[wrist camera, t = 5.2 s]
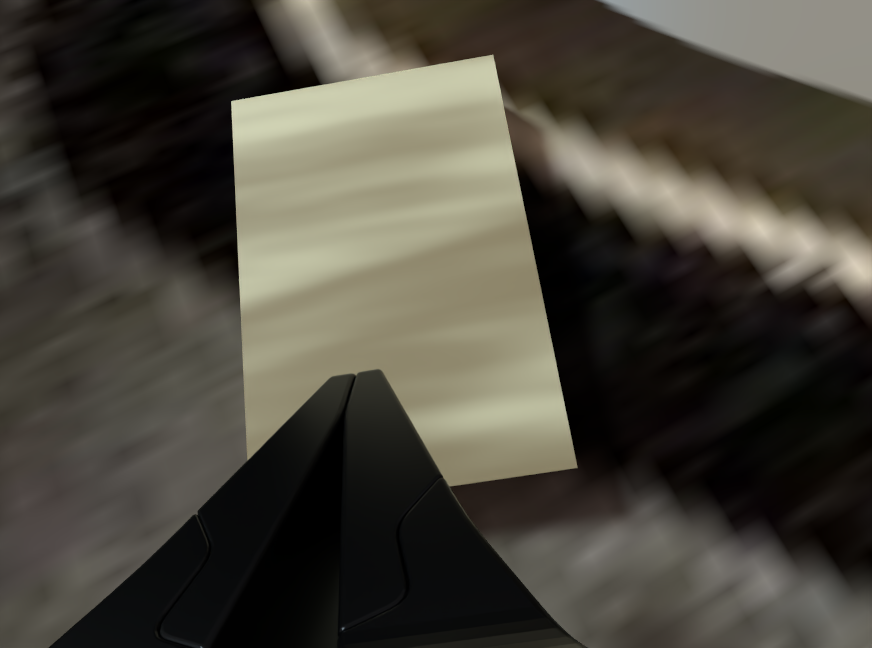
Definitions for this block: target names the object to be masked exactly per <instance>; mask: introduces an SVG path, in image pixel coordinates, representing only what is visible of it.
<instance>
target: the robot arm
mask: <svg viewBox="0 0 872 648" xmlns="http://www.w3.org/2000/svg"><path fill="white" fill-rule="evenodd" d="M49 648H587V647H586V646H584V645H582V644H581V643H580V642H578V641H577V640H575V639H574V638H573V637H572V636H570V635H569V634H568V633H567V632H566V631H565V630H564V629H563V628H562V627H561V626H560V625H559V624H558V623H557V622H556V621H555V620H554V619H553V618H552V617H551V616H550V615H549V614H548V613H547V611H546V610H545V609H544V608H543V607H542V606H541V605H540V603H539V602H538V601H537V600H536V599H535V597H534V596H533V595H532V594H531V593H530V592H529V590H528V589H527V588H526V587H525V586H524V584H523V583H522V582H521V581H520V580H519V579H518V577H517V576H516V575H515V574H514V573H513V571H512V570H511V569H510V568H509V567H508V566H507V564H506V563H505V562H504V561H503V560H502V558H501V557H500V556H499V555H498V554H497V552H496V551H495V550H494V549H493V548H492V547H491V545H490V544H489V543H488V542H487V540H486V539H485V538H484V537H483V535H482V534H481V533H480V531H479V530H478V529H477V528H476V526H475V525H474V524H473V522H472V521H471V520H470V518H469V517H468V516H467V514H466V512H465V511H464V509H463V508H462V506H461V505H460V503H459V502H458V500H457V498H456V497H455V495H454V494H453V492H452V490H451V489H450V487H449V485H448V483H447V482H446V480H445V479H444V478H443V475H442V474H441V472H440V470H439V468H438V467H437V465H436V463H435V461H434V460H433V458H432V456H431V455H430V453H429V451H428V449H427V448H426V446H425V444H424V442H423V441H422V439H421V437H420V435H419V434H418V432H417V430H416V429H415V427H414V425H413V423H412V422H411V420H410V418H409V416H408V415H407V413H406V411H405V410H404V408H403V406H402V404H401V403H400V401H399V399H398V397H397V396H396V394H395V392H394V390H393V389H392V387H391V385H390V384H389V382H388V380H387V378H386V377H385V375H384V373H383V371H382V370H380V369H374V370H368V371H362V372H358V373H357V375H355V374H354V373H349V374H343V375H336V376H332V377H330V378H329V379H328V380H327V381H326V382H325V383H324V384H323V385H322V386H321V387H320V388H319V389H318V390H317V391H316V392H315V393H314V394H313V395H312V396H311V397H310V398H309V399H308V400H307V401H306V402H305V403H304V404H303V405H302V406H301V407H300V408H299V409H298V410H297V411H296V412H295V413H294V414H293V415H292V416H291V417H290V418H289V419H288V420H287V421H286V422H285V423H284V424H283V425H282V426H281V427H280V428H279V429H278V430H277V431H276V432H275V433H274V434H273V435H272V436H271V437H270V438H269V439H268V440H267V441H266V442H265V443H264V444H263V445H262V446H261V448H260V449H259V450H258V451H257V452H256V453H255V454H254V455H253V456H252V457H251V458H250V459H249V460H248V461H247V462H246V463H245V464H244V465H243V466H242V467H241V468H240V469H239V470H238V471H237V472H236V473H235V474H234V475H233V476H232V477H231V478H230V479H229V480H228V481H227V482H226V483H225V484H224V485H223V486H222V487H221V488H220V489H219V490H218V491H217V492H216V493H215V494H214V495H213V496H212V497H211V498H210V499H209V500H208V501H207V502H206V503H205V504H204V505H203V506H202V507H201V508H200V509H199V510H198V515H196V514H195V515H193V516H192V517H191V518H190V519H189V520H188V521H187V522H186V523H185V524H184V525H183V526H182V527H181V528H180V529H179V530H178V531H177V532H176V533H175V534H174V535H173V536H172V537H171V538H170V539H169V540H168V541H167V542H166V543H165V544H164V545H163V546H162V547H161V548H159V549H158V550H157V551H156V552H155V553H154V554H153V555H152V556H151V557H150V558H149V559H148V560H147V561H146V562H145V563H144V564H143V565H142V566H141V567H139V568H138V569H137V570H136V571H135V572H134V573H133V574H132V575H131V576H130V577H128V578H127V579H126V580H125V581H124V582H123V583H122V584H121V585H120V586H118V587H117V588H116V589H115V590H114V591H113V592H112V593H111V594H110V595H108V596H107V597H106V598H105V599H104V600H103V601H102V602H100V603H99V604H98V605H97V606H96V607H95V608H94V609H92V610H91V611H90V612H89V613H88V614H87V615H86V616H84V617H83V618H82V619H81V620H80V621H79V622H77V623H76V624H75V625H74V626H73V627H72V628H71V629H69V630H68V631H67V632H66V633H65V634H64V635H63V636H61V637H60V638H59V639H58V640H57V641H56V642H55V643H53V644H52V645H51V646H50V647H49Z"/></svg>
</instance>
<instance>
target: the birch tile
mask: <svg viewBox="0 0 872 648" xmlns="http://www.w3.org/2000/svg"><path fill="white" fill-rule="evenodd" d="M231 104H232V126H233V149H234V171H235V193H236V216H237V238H238V260H239V283H240V305H241V327H242V350H243V372H244V394H245V417H246V439H247V461H248V460H249V459H250V458H251V457H252V456H253V455H254V454H255V453H256V452H257V451H258V450H259V449H260V448H261V446H262V445H263V444H264V443H265V442H266V441H267V440H268V439H269V438H270V437H271V436H272V435H273V434H274V433H275V432H276V431H277V430H278V429H279V428H280V427H281V426H282V425H283V424H284V423H285V422H286V421H287V420H288V419H289V418H290V417H291V416H292V415H293V414H294V413H295V412H296V411H297V410H298V409H299V408H300V407H301V406H302V405H303V404H304V403H305V402H306V401H307V400H308V399H309V398H310V397H311V396H312V395H313V394H314V393H315V392H316V391H317V390H318V389H319V388H320V387H321V386H322V385H323V384H324V383H325V382H326V381H327V380H328V379H329V378H330V377H332V376H336V375H343V374H349V373H354V374H355V375H357V373H358V372H362V371H368V370H374V369H380V370H382V371H383V373H384V375H385V377H386V378H387V380H388V382H389V384H390V385H391V387H392V389H393V390H394V392H395V394H396V396H397V397H398V399H399V401H400V403H401V404H402V406H403V408H404V410H405V411H406V413H407V415H408V416H409V418H410V420H411V422H412V423H413V425H414V427H415V429H416V430H417V432H418V434H419V435H420V437H421V439H422V441H423V442H424V444H425V446H426V448H427V449H428V451H429V453H430V455H431V456H432V458H433V460H434V461H435V463H436V465H437V467H438V468H439V470H440V472H441V474H442V475H443V478H444V479H445V480H446V482H447V483H448V485H449V487H450V486H457V485H463V484H470V483H477V482H484V481H491V480H498V479H505V478H511V477H518V476H525V475H532V474H539V473H546V472H552V471H559V470H566V469H573V468H578V467H577V463H576V458H575V453H574V448H573V443H572V438H571V433H570V428H569V423H568V419H567V414H566V409H565V404H564V399H563V394H562V389H561V384H560V380H559V375H558V370H557V365H556V360H555V355H554V350H553V345H552V340H551V336H550V331H549V326H548V321H547V316H546V311H545V306H544V301H543V296H542V292H541V287H540V282H539V277H538V272H537V267H536V262H535V257H534V252H533V248H532V243H531V238H530V233H529V228H528V223H527V218H526V213H525V208H524V204H523V199H522V194H521V189H520V184H519V179H518V174H517V169H516V165H515V160H514V155H513V150H512V145H511V140H510V135H509V130H508V125H507V121H506V116H505V111H504V106H503V101H502V96H501V91H500V86H499V81H498V77H497V72H496V67H495V62H494V57H493V55H490V56H484V57H478V58H473V59H467V60H461V61H456V62H450V63H444V64H439V65H433V66H428V67H422V68H416V69H411V70H405V71H399V72H394V73H388V74H382V75H377V76H371V77H365V78H360V79H354V80H349V81H343V82H337V83H332V84H326V85H320V86H315V87H309V88H303V89H298V90H292V91H287V92H281V93H275V94H270V95H264V96H258V97H253V98H247V99H241V100H236V101H231Z"/></svg>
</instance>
